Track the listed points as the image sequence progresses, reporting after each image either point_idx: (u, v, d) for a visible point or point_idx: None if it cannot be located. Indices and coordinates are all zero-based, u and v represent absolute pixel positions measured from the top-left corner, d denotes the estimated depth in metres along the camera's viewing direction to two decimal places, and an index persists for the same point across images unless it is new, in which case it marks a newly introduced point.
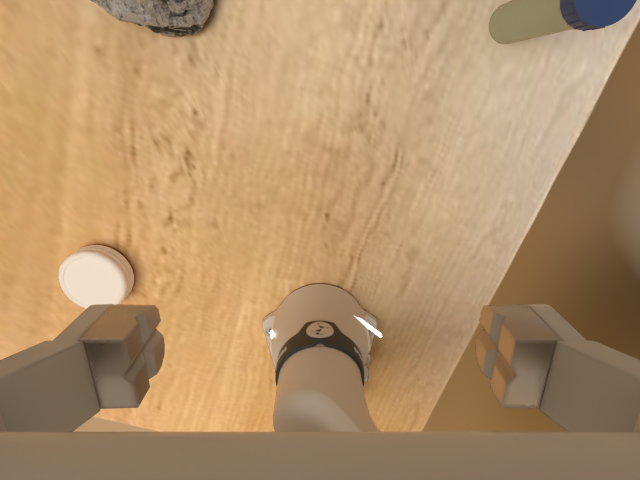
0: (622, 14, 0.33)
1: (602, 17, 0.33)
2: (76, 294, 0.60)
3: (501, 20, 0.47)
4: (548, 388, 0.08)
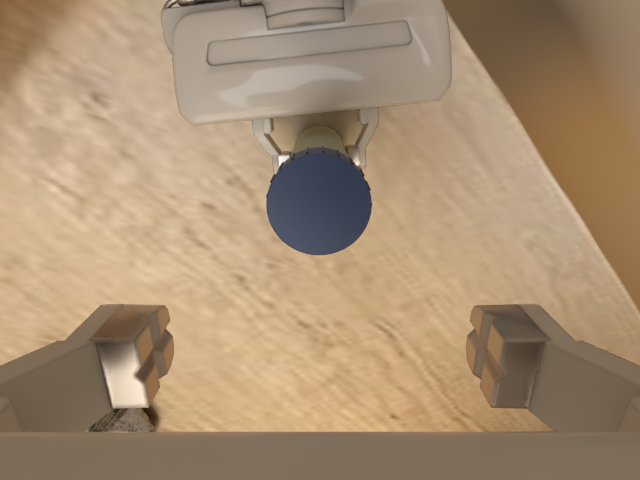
0: (366, 197, 0.20)
1: (351, 226, 0.20)
2: None
3: None
4: (537, 388, 0.08)
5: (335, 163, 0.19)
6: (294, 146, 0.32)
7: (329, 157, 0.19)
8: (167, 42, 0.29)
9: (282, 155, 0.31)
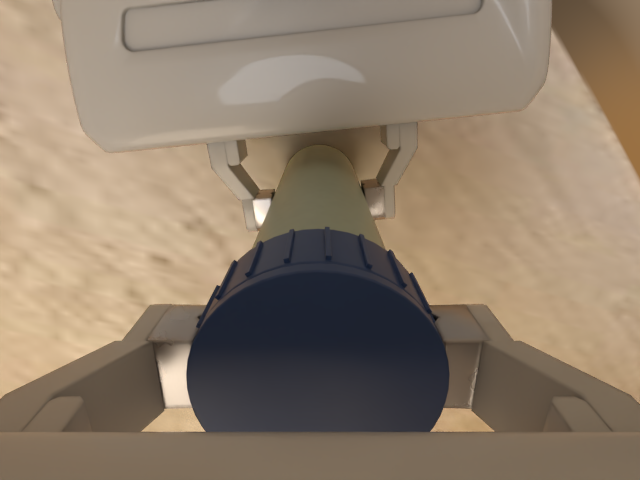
0: (437, 369, 0.08)
1: (397, 428, 0.08)
2: None
3: None
4: (478, 388, 0.08)
5: (362, 294, 0.07)
6: None
7: (344, 279, 0.07)
8: (58, 12, 0.17)
9: (259, 199, 0.19)
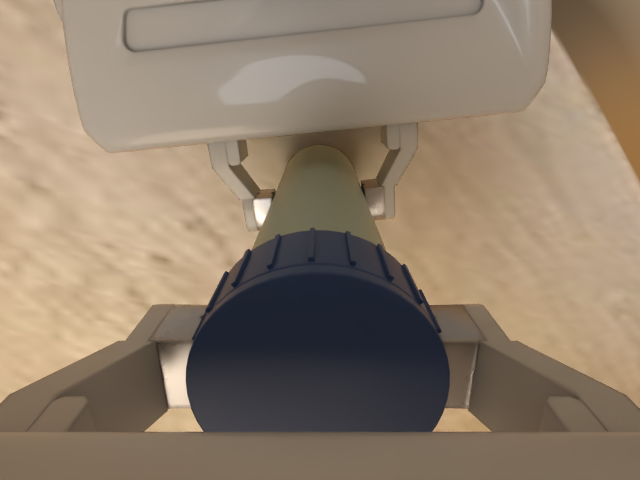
0: (284, 287, 0.07)
1: (368, 318, 0.07)
2: None
3: None
4: (474, 388, 0.08)
5: (204, 362, 0.08)
6: None
7: (191, 376, 0.08)
8: (60, 12, 0.17)
9: (259, 199, 0.19)
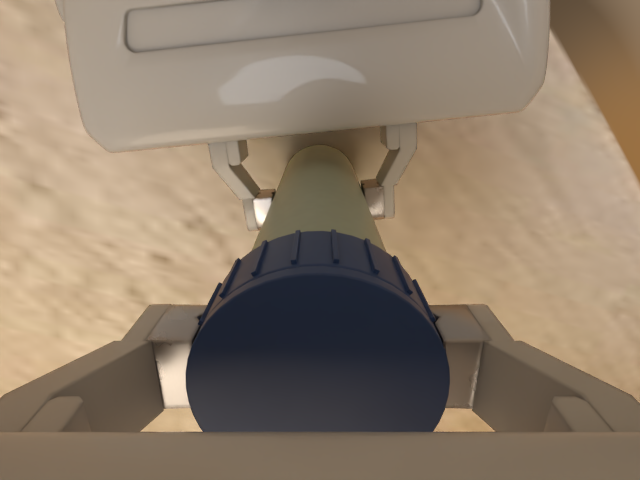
0: (206, 418, 0.08)
1: (226, 357, 0.08)
2: None
3: None
4: (478, 388, 0.08)
5: None
6: None
7: None
8: (61, 13, 0.17)
9: (260, 198, 0.20)
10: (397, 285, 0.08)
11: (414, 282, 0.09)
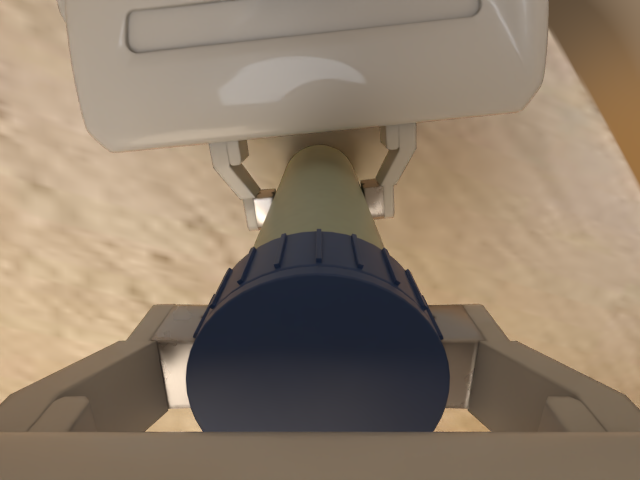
0: None
1: None
2: None
3: None
4: (474, 388, 0.08)
5: (428, 412, 0.08)
6: (280, 182, 0.21)
7: (442, 398, 0.08)
8: (63, 14, 0.17)
9: (260, 198, 0.20)
10: (206, 317, 0.08)
11: None
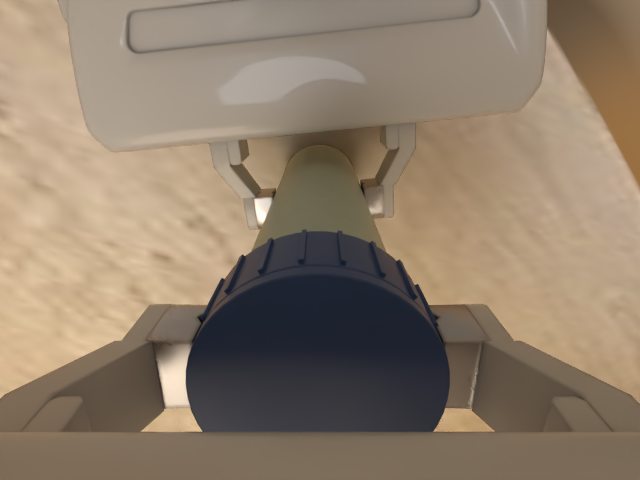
0: (433, 354, 0.08)
1: (406, 419, 0.08)
2: None
3: None
4: (478, 388, 0.08)
5: (338, 292, 0.07)
6: None
7: (317, 280, 0.07)
8: (64, 14, 0.17)
9: (260, 198, 0.20)
10: None
11: None
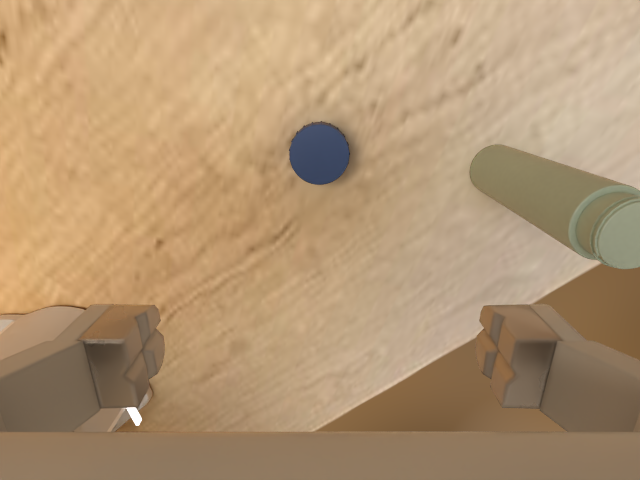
0: (307, 129, 0.35)
1: (326, 133, 0.35)
2: None
3: (490, 163, 0.34)
4: (548, 388, 0.08)
5: (293, 152, 0.35)
6: None
7: (290, 156, 0.35)
8: None
9: None
10: None
11: None
